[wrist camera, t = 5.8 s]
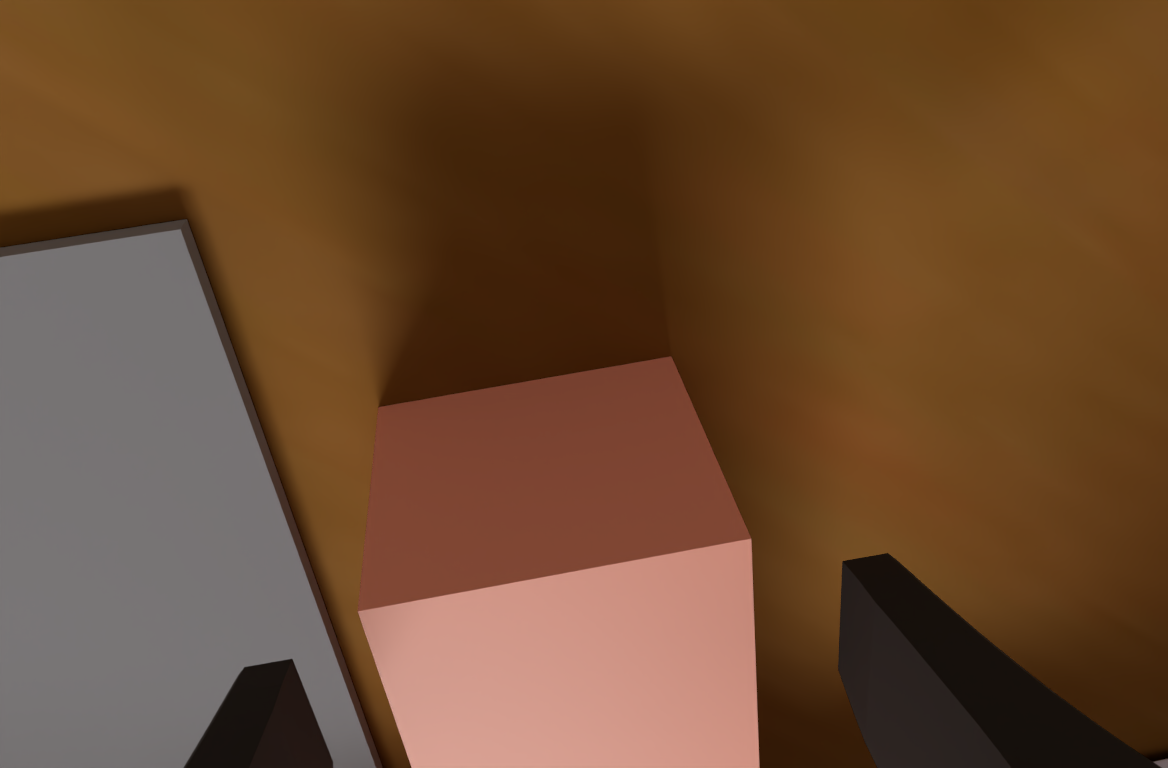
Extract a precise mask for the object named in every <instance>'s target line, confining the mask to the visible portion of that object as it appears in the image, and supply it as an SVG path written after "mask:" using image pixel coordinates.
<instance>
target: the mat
mask: <svg viewBox="0 0 1168 768" xmlns="http://www.w3.org/2000/svg"><path fill="white" fill-rule="evenodd" d="M287 659H293V661H294V664H295V666H296V669H297V672H298V674H299V677H300V679H301V682H302V684H303V687H304V689H305V692H306V694H307V697H308V699H309V702H310V704H311V707H312V709H313V712H314V715H315V717H316V720H317V722H318V725H319V727H320V730H321V732H322V735H323V737H324V740H325V742H326V745H327V747H328V750H329V753H330V755H331V758H332V760H333V768H383V767H382V764H381V761H380V758H379V756H378V753H377V750H376V747H375V744H374V742H373V739H372V736H371V733H370V730H369V728H368V725H367V722H366V719H365V716H364V714H363V711H362V708H361V705H360V702H359V700H358V697H357V694H356V691H355V688H354V686H353V683H352V680H351V677H350V674H349V672H348V669H347V666H346V663H345V660H344V658H343V655H342V652H341V649H340V646H339V644H338V641H337V638H336V635H335V632H334V630H333V627H332V624H331V621H330V618H329V616H328V613H327V610H326V607H325V604H324V602H323V599H322V596H321V593H320V590H319V588H318V585H317V582H316V579H315V576H314V574H313V571H312V568H311V565H310V562H309V560H308V557H307V554H306V551H305V548H304V546H303V543H302V540H301V537H300V534H299V532H298V529H297V526H296V523H295V520H294V518H293V515H292V512H291V509H290V506H289V504H288V501H287V498H286V495H285V492H284V490H283V487H282V484H281V481H280V478H279V476H278V473H277V470H276V467H275V464H274V462H273V459H272V456H271V453H270V450H269V448H268V445H267V442H266V439H265V436H264V434H263V431H262V428H261V425H260V422H259V420H258V417H257V414H256V411H255V408H254V406H253V403H252V400H251V397H250V394H249V392H248V389H247V386H246V383H245V380H244V378H243V375H242V372H241V369H240V366H239V364H238V361H237V358H236V355H235V352H234V350H233V347H232V344H231V341H230V338H229V336H228V333H227V330H226V327H225V324H224V322H223V319H222V316H221V313H220V310H219V308H218V305H217V302H216V299H215V296H214V294H213V291H212V288H211V285H210V282H209V280H208V277H207V274H206V271H205V268H204V266H203V263H202V260H201V257H200V254H199V252H198V249H197V246H196V243H195V240H194V238H193V235H192V232H191V229H190V226H189V224H188V221H187V219H184V220H178V221H171V222H165V223H158V224H152V225H145V226H139V227H132V228H126V229H119V230H113V231H106V232H100V233H93V234H87V235H80V236H74V237H67V238H61V239H54V240H48V241H41V242H35V243H28V244H22V245H15V246H9V247H2V248H0V768H184V766H185V764H186V763H187V761H188V759H189V758H190V756H191V754H192V753H193V751H194V749H195V748H196V746H197V744H198V743H199V741H200V739H201V738H202V736H203V734H204V733H205V731H206V729H207V728H208V726H209V724H210V723H211V721H212V719H213V717H214V716H215V714H216V712H217V711H218V709H219V707H220V705H221V704H222V702H223V700H224V699H225V697H226V695H227V693H228V692H229V690H230V688H231V687H232V685H233V683H234V681H235V680H236V678H237V676H238V675H239V673H240V672H241V671H242V670H243V668H244V667H248V666H254V665H259V664H265V663H271V662H276V661H282V660H287Z"/></svg>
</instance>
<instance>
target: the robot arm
mask: <svg viewBox="0 0 1168 768" xmlns="http://www.w3.org/2000/svg"><path fill="white" fill-rule="evenodd" d="M838 670H839V673H840V676H841V679H842V682H843V684H844V687H845V690H846V693H847V695H848V698H849V701H850V704H851V707H852V709H853V712H854V715H855V717H856V720H857V723H858V725H859V728H860V730H861V733H862V736H863V738H864V741H865V743H866V745H867V747H868V749H869V751H870V753H871V756H872V758H873V760H874V762H875V764H876V766H877V768H1168V759H1164V760H1158V761H1153V762H1152V761H1151V760H1149V759H1148V758H1146V757H1145V756H1143V755H1141V754H1140V753H1138V752H1137V751H1135V750H1134V749H1132V748H1131V747H1129V746H1128V745H1127V744H1125V743H1124V742H1122V741H1121V740H1119V739H1118V738H1116V737H1115V736H1113V735H1112V734H1111V733H1109V732H1108V731H1106V730H1105V729H1103V728H1102V727H1101V726H1099V725H1098V724H1096V723H1095V722H1094V721H1092V720H1091V719H1089V718H1088V717H1087V716H1085V715H1084V714H1083V713H1081V712H1080V711H1079V710H1077V709H1076V708H1074V707H1073V706H1072V705H1070V704H1069V703H1068V702H1066V701H1065V700H1064V699H1062V698H1061V697H1059V696H1058V695H1057V694H1056V693H1054V692H1053V691H1052V690H1050V689H1049V688H1048V687H1046V686H1045V685H1044V684H1043V683H1041V682H1040V681H1039V680H1037V679H1036V678H1035V677H1033V676H1032V675H1031V674H1030V673H1028V672H1027V671H1026V670H1025V669H1023V668H1022V667H1021V666H1020V665H1019V664H1017V663H1016V662H1015V661H1014V660H1012V659H1011V658H1010V657H1009V656H1007V655H1006V654H1005V653H1004V652H1002V651H1001V650H1000V649H999V648H997V647H996V646H995V645H994V644H992V643H991V642H990V641H989V640H988V639H986V638H985V637H984V636H983V635H982V634H980V633H979V632H978V631H977V630H976V629H975V628H973V627H972V626H971V625H970V624H969V623H967V622H966V621H965V620H964V619H963V618H962V617H961V616H959V615H958V614H957V613H956V612H955V611H954V610H952V609H951V608H950V607H949V606H948V605H947V604H946V603H944V602H943V601H942V600H941V599H940V598H939V597H938V596H936V595H935V594H934V593H933V592H932V591H931V590H930V589H929V588H927V587H926V586H925V585H924V584H923V583H922V582H921V581H920V580H918V579H917V578H916V577H915V576H914V575H913V574H912V573H911V572H909V571H908V570H907V569H906V568H905V567H904V566H903V565H902V564H900V563H899V562H898V561H897V560H896V559H895V558H893V557H892V556H891V555H889V554H888V553H887V554H881V555H875V556H870V557H864V558H858V559H853V560H847V561H843V563H842V588H841V612H840V637H839V662H838ZM184 768H333V760H332V758H331V755H330V753H329V750H328V747H327V745H326V742H325V740H324V737H323V735H322V732H321V730H320V727H319V725H318V722H317V720H316V717H315V715H314V712H313V709H312V707H311V704H310V702H309V699H308V697H307V694H306V692H305V689H304V687H303V684H302V682H301V679H300V677H299V674H298V672H297V669H296V666H295V664H294V661H293V659H287V660H282V661H276V662H271V663H265V664H259V665H254V666H248V667H244V668H243V670H242V671H241V672H240V673H239V675H238V676H237V678H236V680H235V681H234V683H233V685H232V687H231V688H230V690H229V692H228V693H227V695H226V697H225V699H224V700H223V702H222V704H221V705H220V707H219V709H218V711H217V712H216V714H215V716H214V717H213V719H212V721H211V723H210V724H209V726H208V728H207V729H206V731H205V733H204V734H203V736H202V738H201V739H200V741H199V743H198V744H197V746H196V748H195V749H194V751H193V753H192V754H191V756H190V758H189V759H188V761H187V763H186V764H185V766H184Z"/></svg>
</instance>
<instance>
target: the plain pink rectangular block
mask: <svg viewBox="0 0 1168 768" xmlns="http://www.w3.org/2000/svg"><path fill="white" fill-rule="evenodd" d="M358 614H359V616H360V619H361V622H362V625H363V628H364V631H365V634H366V637H367V640H368V643H369V645H370V648H371V651H372V654H373V657H374V660H375V663H376V666H377V669H378V672H379V674H380V677H381V680H382V683H383V686H384V689H385V692H386V695H387V698H388V700H389V703H390V706H391V709H392V712H393V715H394V718H395V721H396V724H397V727H398V729H399V732H400V735H401V738H402V741H403V744H404V747H405V750H406V753H407V756H408V758H409V761H410V764H411V767H412V768H759V740H758V712H757V684H756V656H755V628H754V600H753V572H752V544H751V537H750V535H749V532H748V530H747V528H746V525H745V523H744V521H743V519H742V516H741V514H740V512H739V509H738V507H737V505H736V503H735V500H734V498H733V496H732V493H731V491H730V489H729V487H728V484H727V482H726V480H725V477H724V475H723V473H722V471H721V468H720V466H719V464H718V461H717V459H716V457H715V455H714V452H713V450H712V448H711V445H710V443H709V441H708V439H707V436H706V434H705V432H704V430H703V427H702V425H701V423H700V420H699V418H698V416H697V414H696V411H695V409H694V407H693V404H692V402H691V400H690V398H689V395H688V393H687V391H686V388H685V386H684V384H683V382H682V379H681V377H680V375H679V372H678V370H677V368H676V366H675V363H674V361H673V359H672V356H670V357H664V358H659V359H653V360H647V361H641V362H636V363H630V364H624V365H618V366H613V367H607V368H601V369H595V370H590V371H584V372H578V373H572V374H566V375H561V376H555V377H549V378H543V379H538V380H532V381H526V382H520V383H515V384H509V385H503V386H497V387H492V388H486V389H480V390H474V391H469V392H463V393H457V394H451V395H446V396H440V397H434V398H428V399H422V400H417V401H411V402H405V403H399V404H394V405H388V406H382V407H378V417H377V427H376V436H375V446H374V456H373V466H372V476H371V486H370V496H369V506H368V516H367V525H366V535H365V545H364V555H363V565H362V575H361V585H360V595H359V604H358Z"/></svg>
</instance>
